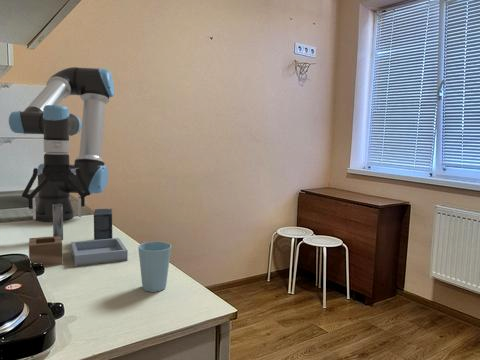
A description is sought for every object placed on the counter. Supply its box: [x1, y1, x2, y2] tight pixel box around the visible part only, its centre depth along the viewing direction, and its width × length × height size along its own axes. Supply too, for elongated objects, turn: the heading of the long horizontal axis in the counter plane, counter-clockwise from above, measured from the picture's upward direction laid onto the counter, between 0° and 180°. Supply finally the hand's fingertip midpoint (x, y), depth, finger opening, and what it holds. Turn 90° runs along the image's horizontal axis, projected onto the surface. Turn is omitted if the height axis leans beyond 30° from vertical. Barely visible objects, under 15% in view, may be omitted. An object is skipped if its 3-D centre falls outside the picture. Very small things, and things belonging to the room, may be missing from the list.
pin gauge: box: [52, 204, 64, 241], centre depth 129 cm, size 3×3×12 cm
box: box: [93, 208, 113, 240], centre depth 128 cm, size 8×6×11 cm
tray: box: [70, 237, 129, 267], centre depth 114 cm, size 14×14×3 cm
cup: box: [137, 241, 172, 293], centre depth 93 cm, size 8×8×10 cm
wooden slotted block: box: [28, 236, 63, 267], centre depth 108 cm, size 8×8×6 cm
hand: (57, 217), depth 128 cm, fingers open, 13 cm apart
